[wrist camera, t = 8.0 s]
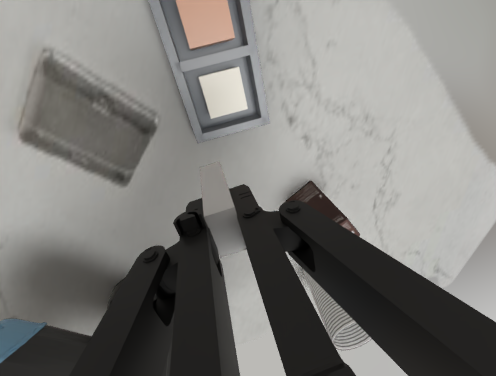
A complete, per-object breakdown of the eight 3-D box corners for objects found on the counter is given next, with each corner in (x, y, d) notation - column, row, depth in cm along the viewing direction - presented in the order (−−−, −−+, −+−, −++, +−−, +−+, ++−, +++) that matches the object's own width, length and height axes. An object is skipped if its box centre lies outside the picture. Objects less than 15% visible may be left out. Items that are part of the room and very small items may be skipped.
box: (309, 178, 40) (349, 218, 29) (321, 194, 42) (363, 236, 31) (283, 200, 41) (312, 245, 30) (296, 214, 43) (327, 261, 32)
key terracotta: (190, 50, 25) (190, 48, 23) (174, -4, 23) (172, -12, 21) (231, 40, 25) (235, 37, 23) (220, -15, 23) (222, -23, 21)
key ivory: (210, 115, 30) (210, 118, 28) (198, 76, 28) (198, 77, 26) (244, 106, 30) (247, 108, 28) (235, 66, 28) (239, 66, 26)
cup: (289, 274, 50) (322, 349, 37) (309, 246, 47) (353, 316, 34) (318, 280, 53) (359, 351, 40) (339, 254, 50) (390, 321, 37)
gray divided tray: (197, 136, 32) (197, 143, 29) (106, -132, 20) (90, -167, 17) (263, 118, 33) (270, 123, 30) (215, -153, 21) (217, -191, 18)
